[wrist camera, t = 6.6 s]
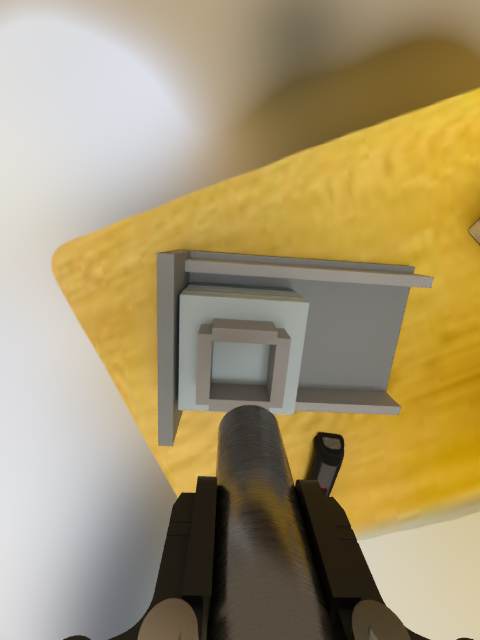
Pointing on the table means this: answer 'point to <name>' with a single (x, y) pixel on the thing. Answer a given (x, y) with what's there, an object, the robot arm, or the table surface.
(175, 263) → the bay
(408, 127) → the table surface
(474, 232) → the skincare box
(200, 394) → the square socket block
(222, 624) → the handle peg
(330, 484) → the electric trimmer
